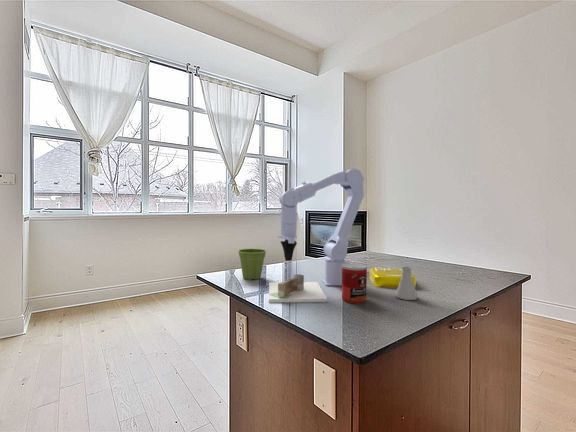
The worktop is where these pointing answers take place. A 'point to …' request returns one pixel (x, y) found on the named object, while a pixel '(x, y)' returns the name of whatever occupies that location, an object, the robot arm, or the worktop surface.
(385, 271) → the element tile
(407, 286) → the flask
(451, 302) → the worktop surface
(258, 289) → the worktop surface
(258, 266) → the plant pot
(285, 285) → the brown bar
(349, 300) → the canned food
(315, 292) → the dial plate
